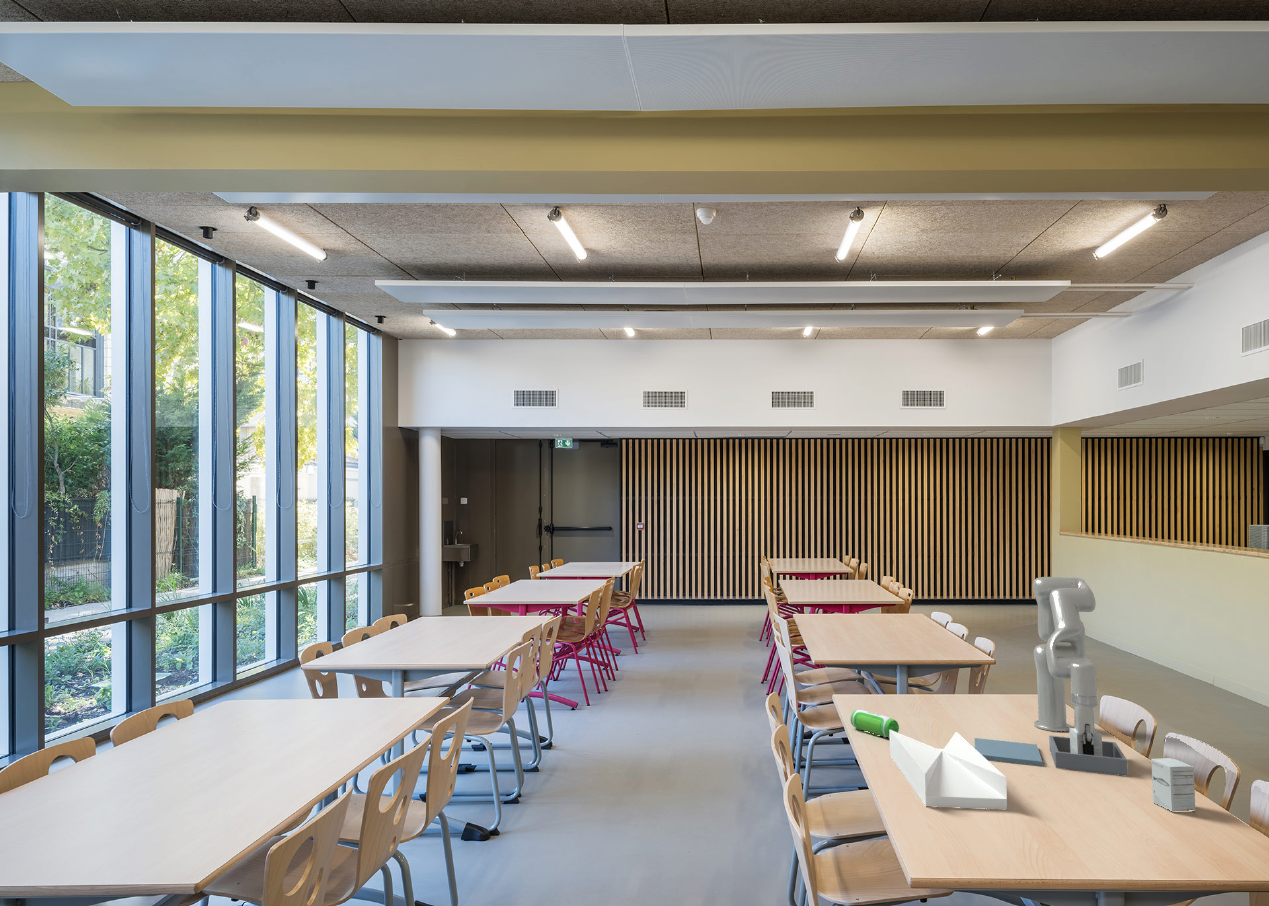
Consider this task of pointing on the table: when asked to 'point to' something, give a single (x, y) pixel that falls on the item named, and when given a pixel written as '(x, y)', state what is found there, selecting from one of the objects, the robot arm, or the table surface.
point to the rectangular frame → (1088, 757)
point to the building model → (949, 773)
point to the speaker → (873, 723)
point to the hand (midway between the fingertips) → (1086, 752)
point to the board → (1008, 751)
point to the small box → (1078, 740)
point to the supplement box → (1173, 784)
